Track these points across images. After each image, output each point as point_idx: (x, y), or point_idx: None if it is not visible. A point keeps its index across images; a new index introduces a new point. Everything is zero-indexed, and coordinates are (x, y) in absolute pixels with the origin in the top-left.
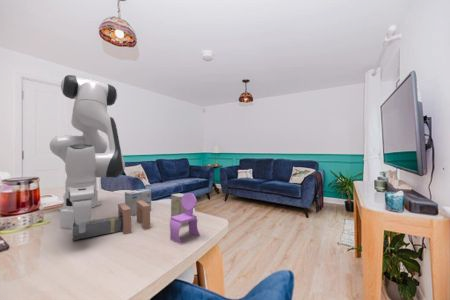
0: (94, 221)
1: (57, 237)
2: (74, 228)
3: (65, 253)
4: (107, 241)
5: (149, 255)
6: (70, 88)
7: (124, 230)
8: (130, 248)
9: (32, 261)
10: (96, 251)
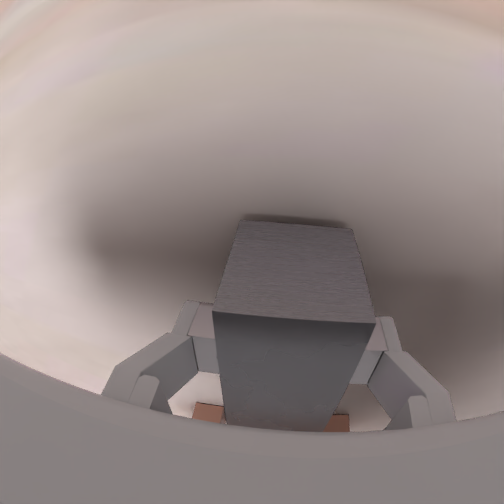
0: (282, 422)
1: (471, 131)
2: (217, 302)
3: (74, 170)
4: (141, 347)
5: (17, 360)
6: None
7: (192, 418)
8: (54, 360)
9: (68, 15)
10: (53, 290)
